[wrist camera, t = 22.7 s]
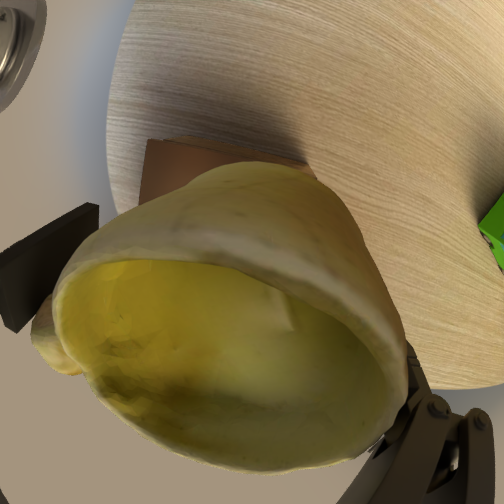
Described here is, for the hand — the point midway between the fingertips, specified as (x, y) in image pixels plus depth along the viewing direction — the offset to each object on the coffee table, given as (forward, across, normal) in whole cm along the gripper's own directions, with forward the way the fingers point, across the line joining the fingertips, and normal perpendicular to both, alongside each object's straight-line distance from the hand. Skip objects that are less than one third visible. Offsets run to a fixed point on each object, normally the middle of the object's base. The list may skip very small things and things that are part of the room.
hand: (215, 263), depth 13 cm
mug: (+1, 0, 0) cm, 1 cm away
